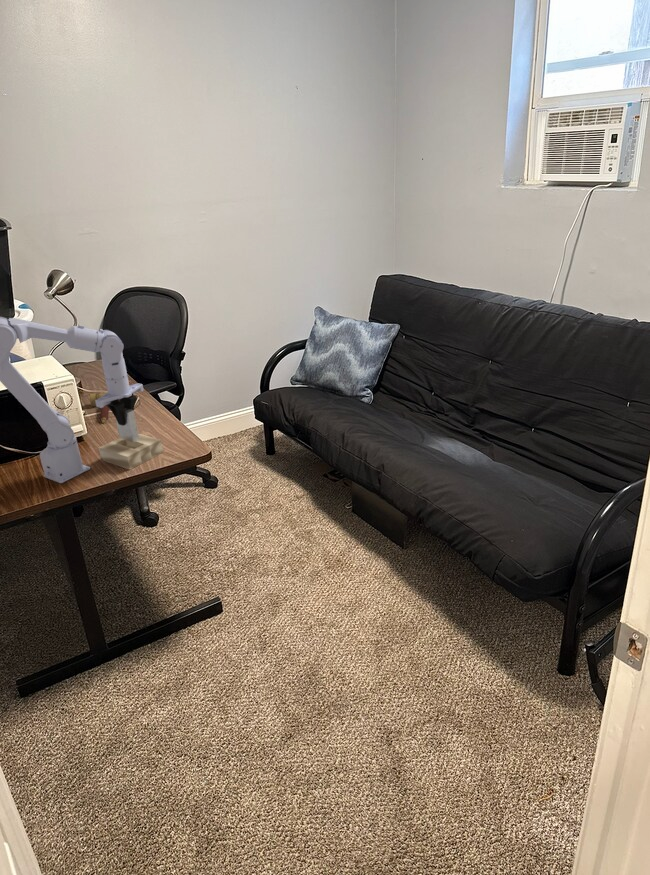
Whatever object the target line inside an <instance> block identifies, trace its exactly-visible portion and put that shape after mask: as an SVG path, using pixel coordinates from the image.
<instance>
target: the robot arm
mask: <svg viewBox="0 0 650 875" xmlns="http://www.w3.org/2000/svg"><path fill="white" fill-rule="evenodd" d="M30 339H38V340H39V339H41V340H47V341H55V342H61V343H66V344H67V346H68V347H69V348H70V349H73V350H74V349H75V350H80V351H86V352H93V353H100V357H101V365H102V369H103V374H104V379H105V384H106V388H107V392H106V393H107V394H105V395H103V396H102V397H100V398H99V399H97V400H95V403H96V407H97V408H100V409H101V408H103V407H104V406H105V405H106V406H107V407H108V408H109V411H110V412H111V413H112V415H113V416H114V417H115V421H116V420H117V422H118V424H119V425H123V426H124V425H125V417H124V408H128V409H131V410H134V411H135V406H136V404H137V401H138V397H137V395H134V394H136V393H138V392H139V393H140V392H144V385H143V384H142V383H138V382H137V383H134V384H130V383H129V382H130V381H129V377H128V373H127V372H128V371H127V366H126V362H125V358H124V356H123V355H124V354H123V350H124V348H125V347H124V343H123V341H122V340H121V338H120V337H119V336H118V335H117V334H116V333H115V332H113V331H111V330H109V329H104V330H103V328H99V329H93V328H86V327H85V325H84V324H77V325H73V326H71V327H69V328H62V327H57V326H53V325H50V324H49V325H48V324H44V323H39V322H35V321H31V320H25V319H20V318H15V317H14V318H13V317H8V318H7V317H3V316H0V383H1V384H2V386H4V387H5V388H6V389H7V391H8V392H9V393H10V394H12V396H14V398H15V399H16V400H17V401H18V402H19V403H20V404H21V405H22V406H23V407H24V408H25V409H26V410H27V411H28V413H30V415H31V416H32V417H33V418H34V419H35V420H36V422H37V423H38V424H39V425H40V427H41V429H42V430H43V431H44V432H45V433H46V435H47V438H48V441H47V443H46V444H47V446H46V448H44V449H43V450H41V451H40V452H39V459H40V462H41V466H42V471H43V473H44V474H43V477H44V478H46V479H49V480H51V481H54V482H55V483H59V484H63V483H65V482H67V481H69V480H71V479H73V478H75V477H77V476H79V475H82V474H84V472H85V473H86V472H88V471H89V470H91V466H88V465H85V464H83V460H82V457H81V453H80V448H79V444H78V440H77V437H76V436H75V432H74V430H73V428H72V426H71V422H70V420H69V419H68V417H67V416H65V415H64V414H60V413H59V412H57V410H56V409H55V408H53V407H52V406H50V405H49V403H48V402H47V401H46V400H45V399H44V398H43V397H42V396H41V395H40V393H38V392H37V390H36V388H34V387H33V386H32V384H30V382H29V381H28V380H27V379H26V378H25V377H24V375H23V374H22V373H20V371H19V370H18V369H17V368H16V367H15V366H14V365H13V364H12V362H10V356H11V351H12V350H13V348H14V347H15V345H16V343H17V340H19V343H20V344H21V343H23V342H25V341H27V340H30ZM119 400H120V401H119Z"/></svg>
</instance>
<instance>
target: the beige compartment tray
mask: <svg viewBox="0 0 650 875" xmlns="http://www.w3.org/2000/svg"><path fill="white" fill-rule="evenodd" d="M138 435H139V440H138V441H136V442H130V441H127V440H124V439H121V438H119V437H118V438H117V439H114V440H113V441H109V442H108V443H106V444H103V445H101V446H99V447H98V449H99V450H98V451H99V454H100V458H101V461H102V462H106V463H109V464H111V465H112V464H113V465H115V466H117V467H120V468H124V469H127V470H129V471H131V470H132V469H134V468H137V467H138V466H140V465H142V464H144V463H146V462H148V461H150V460H151V459H153V458H155V457H157V456H159V455H160V454H161V455H162V454H163V453H164V449H163V445H162V439H159V438H157V437H156V438H155V437H153V436H149V435H146V434H142V433H139V432H138Z"/></svg>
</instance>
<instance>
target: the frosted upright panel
mask: <svg viewBox="0 0 650 875" xmlns="http://www.w3.org/2000/svg"><path fill="white" fill-rule="evenodd" d="M124 417H125V425H124V426H123V425H119V424H118V422H117V420H116V419H115V423H116V428H117V432H118V438H121V439H124V440H127V441H130V442H136V441H138V440H139V435H138V433H139V430H138V425H137V419H136V414H135V409H134V410H131V409H128V408H124Z"/></svg>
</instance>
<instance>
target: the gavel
mask: <svg viewBox="0 0 650 875" xmlns="http://www.w3.org/2000/svg"><path fill="white" fill-rule="evenodd" d="M107 393H108V392H103V393H98V394H97V393H96V392H95V393H90V394H89V402H90V406H91V407H92V408H94V407H96V403H95V400H97V399H99V398H100V397H102V396H103V395H105V394H107ZM119 401H120V400H119ZM99 412H100V414H99V419H100V421H101V423H102V424H105V423H106V422H107V421H108V420H109V414H110V413H109V412H110V409H109V408H108V407H107V406H106V405H105V406H104V407H103V408H100V411H99Z"/></svg>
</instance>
